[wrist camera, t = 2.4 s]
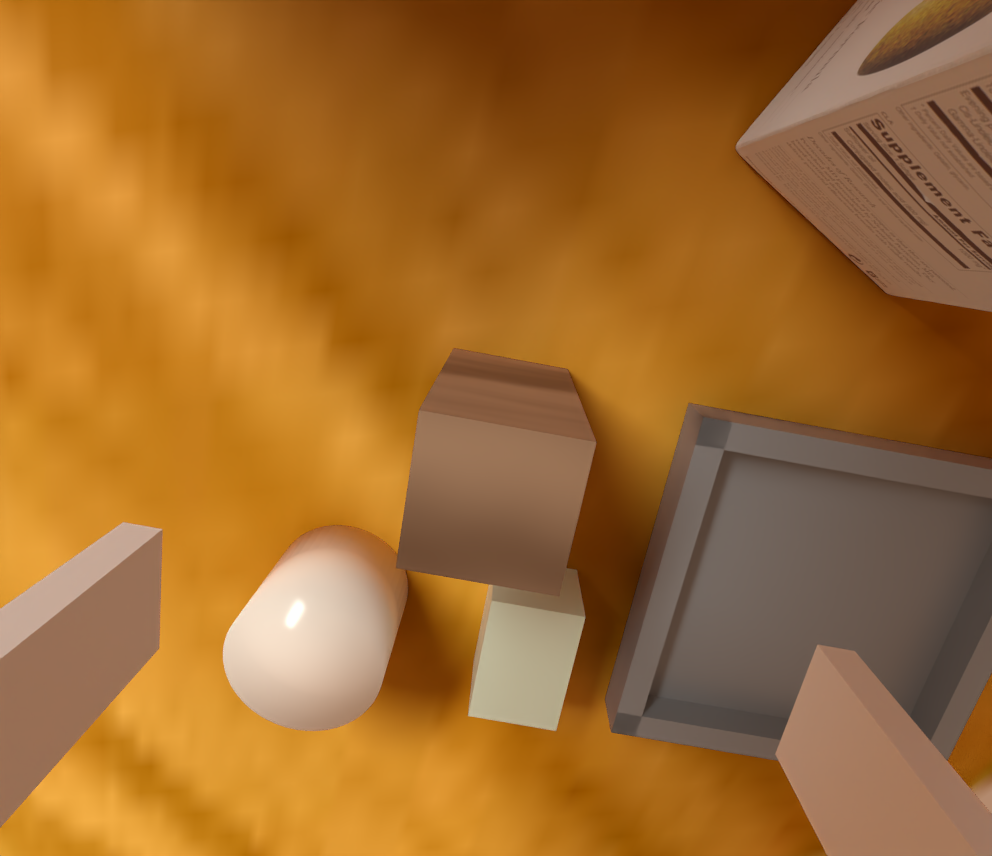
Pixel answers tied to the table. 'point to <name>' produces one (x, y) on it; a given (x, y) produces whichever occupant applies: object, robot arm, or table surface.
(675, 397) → the table surface
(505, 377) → the walnut block
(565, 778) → the table surface
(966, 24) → the supplement box
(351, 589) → the glossy white capsule
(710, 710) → the tray
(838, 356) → the table surface
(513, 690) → the cream box
